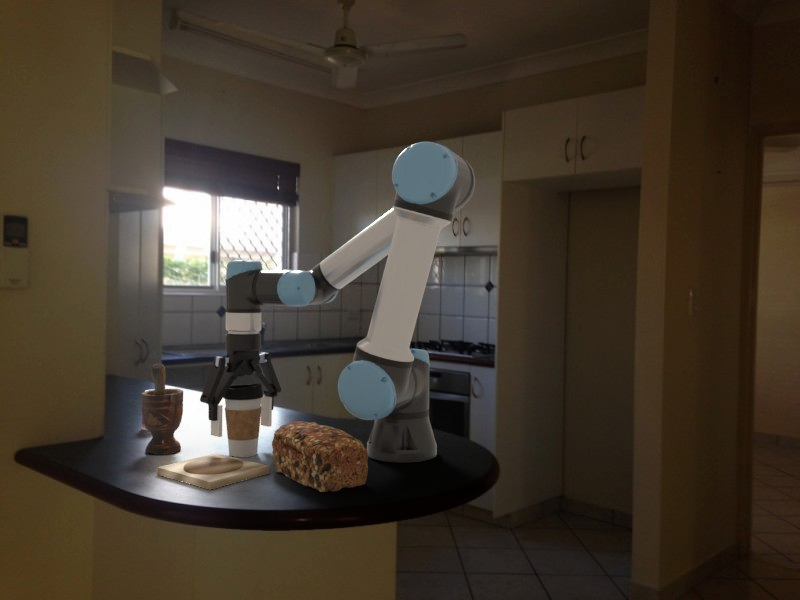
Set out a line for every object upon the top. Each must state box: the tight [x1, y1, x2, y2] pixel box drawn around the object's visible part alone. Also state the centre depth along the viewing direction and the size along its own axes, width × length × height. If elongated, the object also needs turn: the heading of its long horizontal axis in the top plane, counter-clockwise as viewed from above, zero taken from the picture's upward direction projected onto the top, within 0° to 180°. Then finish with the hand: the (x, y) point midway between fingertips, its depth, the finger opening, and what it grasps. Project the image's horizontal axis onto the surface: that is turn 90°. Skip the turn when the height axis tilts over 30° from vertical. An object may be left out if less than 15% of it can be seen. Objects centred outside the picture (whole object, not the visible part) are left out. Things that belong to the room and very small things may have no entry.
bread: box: [271, 420, 369, 493], centre depth 131 cm, size 19×11×10 cm, turn 38°
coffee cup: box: [222, 383, 264, 458], centre depth 149 cm, size 8×8×15 cm
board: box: [156, 452, 270, 491], centre depth 133 cm, size 16×14×2 cm
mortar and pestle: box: [140, 362, 184, 456], centre depth 149 cm, size 12×9×20 cm
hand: (242, 430), depth 149 cm, fingers open, 13 cm apart
